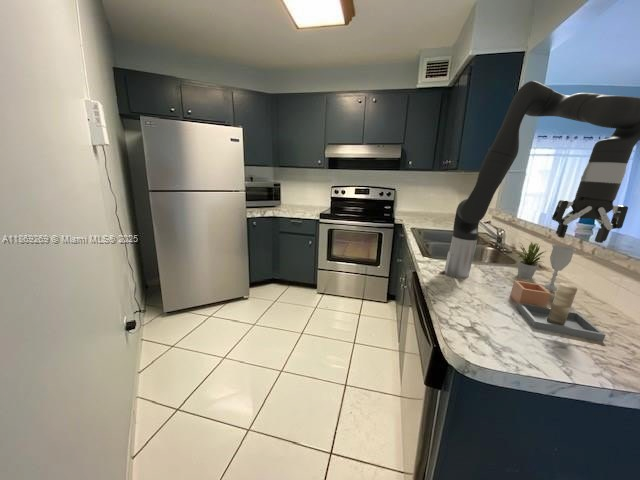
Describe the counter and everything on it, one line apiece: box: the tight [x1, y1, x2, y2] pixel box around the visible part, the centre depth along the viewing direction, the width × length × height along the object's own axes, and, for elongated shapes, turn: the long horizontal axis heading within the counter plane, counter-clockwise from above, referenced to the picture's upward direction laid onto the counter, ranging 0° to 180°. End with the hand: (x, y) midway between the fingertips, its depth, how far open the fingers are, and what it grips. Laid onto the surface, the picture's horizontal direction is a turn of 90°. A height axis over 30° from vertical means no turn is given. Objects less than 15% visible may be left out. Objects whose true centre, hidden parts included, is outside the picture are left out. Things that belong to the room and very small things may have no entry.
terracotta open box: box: [509, 279, 551, 307], centre depth 88 cm, size 8×8×7 cm
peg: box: [547, 282, 578, 326], centre depth 76 cm, size 4×4×12 cm
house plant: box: [513, 241, 547, 279], centre depth 115 cm, size 14×14×16 cm
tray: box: [516, 302, 606, 342], centre depth 77 cm, size 16×12×3 cm
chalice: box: [543, 244, 577, 292], centre depth 100 cm, size 7×7×18 cm
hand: (579, 239), depth 72 cm, fingers open, 8 cm apart
